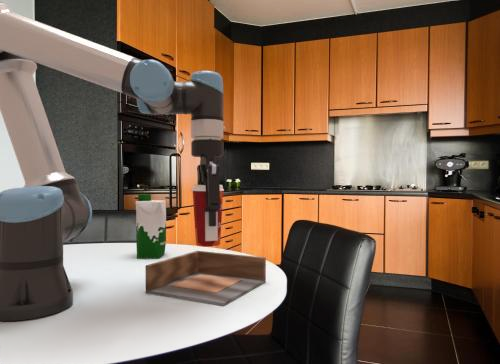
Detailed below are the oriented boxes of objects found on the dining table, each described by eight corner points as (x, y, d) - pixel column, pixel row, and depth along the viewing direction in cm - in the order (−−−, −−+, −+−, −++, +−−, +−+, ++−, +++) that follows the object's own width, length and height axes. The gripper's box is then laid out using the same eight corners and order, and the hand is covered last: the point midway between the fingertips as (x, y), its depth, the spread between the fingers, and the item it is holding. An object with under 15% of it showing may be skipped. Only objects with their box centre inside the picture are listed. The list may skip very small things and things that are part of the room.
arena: (223, 306, 78) (223, 275, 78) (145, 292, 87) (145, 265, 87) (265, 282, 96) (265, 257, 96) (197, 273, 105) (197, 250, 105)
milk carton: (141, 253, 132) (141, 193, 132) (168, 253, 132) (168, 193, 131) (133, 259, 123) (133, 194, 123) (162, 259, 123) (161, 195, 123)
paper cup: (231, 244, 92) (230, 184, 92) (203, 248, 87) (202, 185, 87) (212, 240, 98) (212, 184, 98) (185, 244, 93) (184, 184, 93)
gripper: (234, 136, 84) (235, 243, 84) (213, 143, 103) (214, 232, 103) (199, 135, 82) (200, 245, 82) (184, 143, 100) (185, 233, 101)
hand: (208, 238), depth 92 cm, fingers closed on paper cup, 7 cm apart
